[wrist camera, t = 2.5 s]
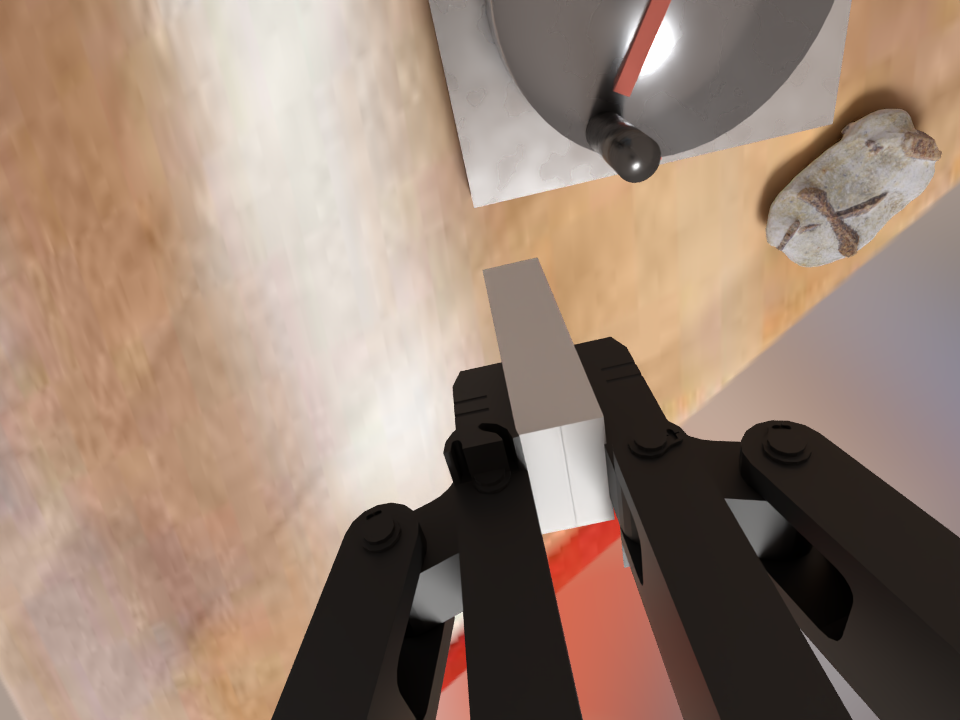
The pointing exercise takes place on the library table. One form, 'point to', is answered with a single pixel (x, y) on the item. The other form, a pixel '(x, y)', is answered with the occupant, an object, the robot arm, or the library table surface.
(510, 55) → the crank handle wheel
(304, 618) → the library table surface
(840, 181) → the stone
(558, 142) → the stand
